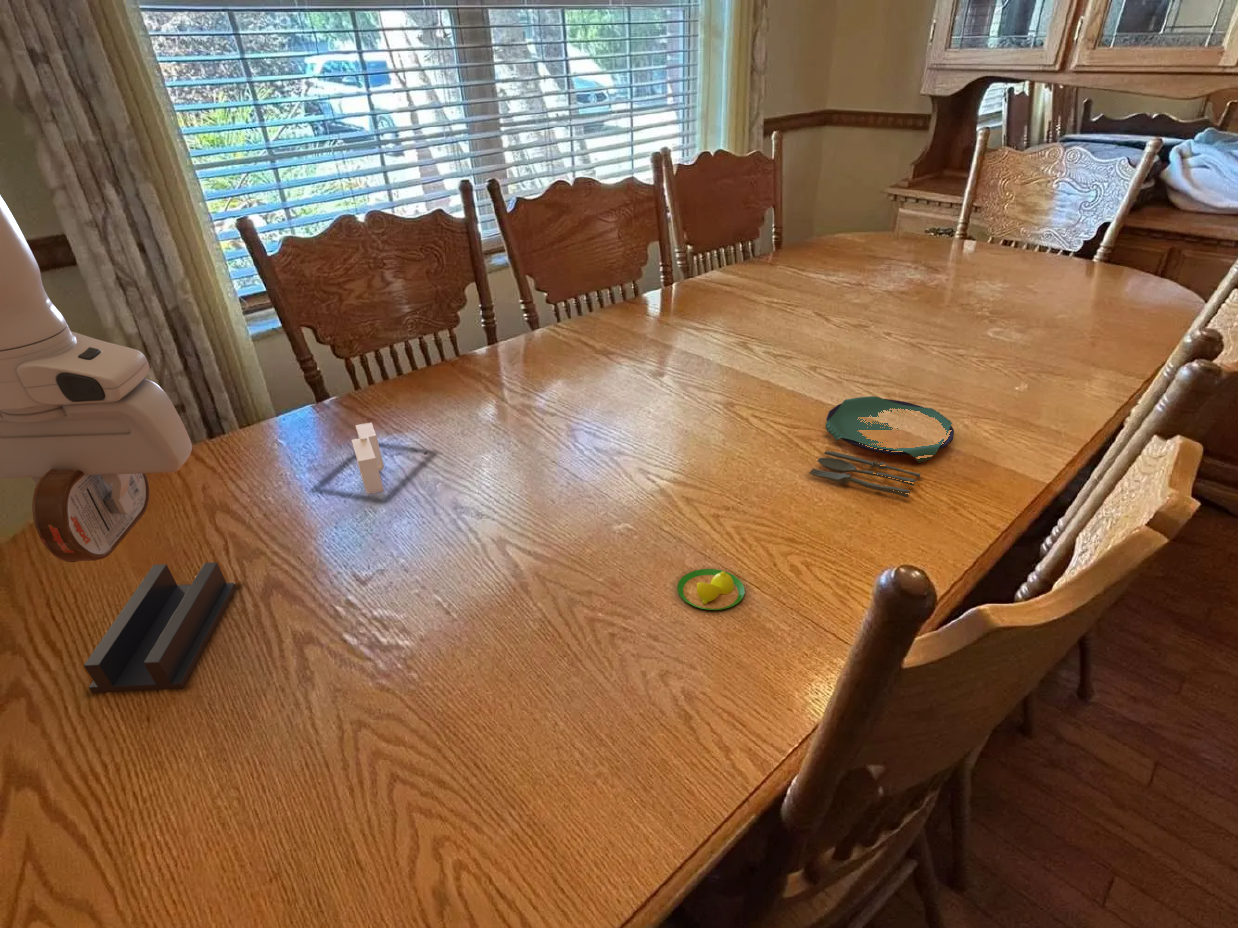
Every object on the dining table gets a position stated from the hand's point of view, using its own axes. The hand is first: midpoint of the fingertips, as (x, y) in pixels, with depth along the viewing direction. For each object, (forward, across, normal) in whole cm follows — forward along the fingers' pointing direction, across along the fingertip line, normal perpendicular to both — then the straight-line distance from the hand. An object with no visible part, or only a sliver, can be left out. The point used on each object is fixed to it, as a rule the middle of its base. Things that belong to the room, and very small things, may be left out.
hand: (102, 511), depth 71 cm
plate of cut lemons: (+16, +61, +4) cm, 63 cm away
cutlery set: (+17, +93, +39) cm, 102 cm away
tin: (+3, 0, 0) cm, 3 cm away
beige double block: (+16, +16, +36) cm, 43 cm away
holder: (+16, 0, 0) cm, 16 cm away
